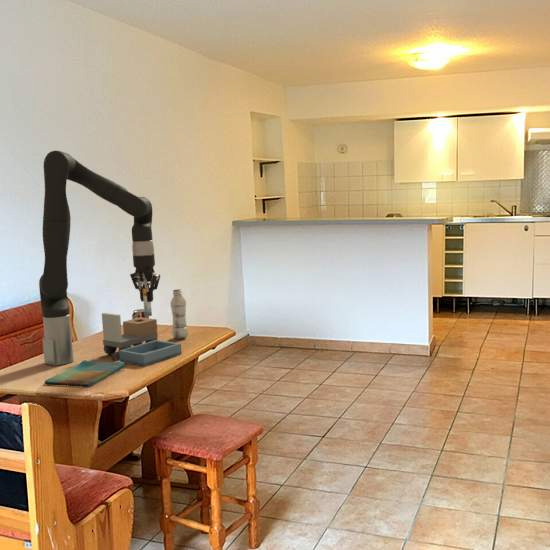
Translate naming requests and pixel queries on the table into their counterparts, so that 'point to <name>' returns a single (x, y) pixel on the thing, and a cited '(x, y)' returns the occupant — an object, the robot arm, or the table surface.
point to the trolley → (126, 333)
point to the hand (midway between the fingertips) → (147, 301)
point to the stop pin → (146, 304)
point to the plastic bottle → (179, 315)
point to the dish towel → (86, 373)
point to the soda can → (139, 314)
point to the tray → (150, 352)
